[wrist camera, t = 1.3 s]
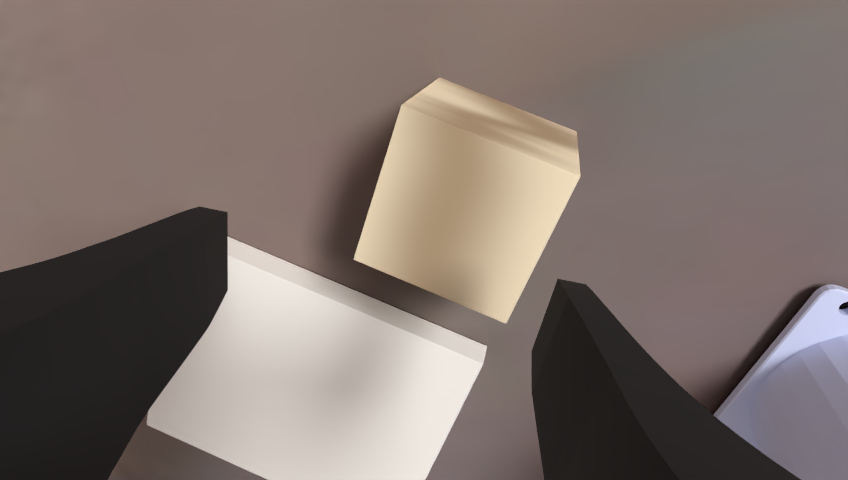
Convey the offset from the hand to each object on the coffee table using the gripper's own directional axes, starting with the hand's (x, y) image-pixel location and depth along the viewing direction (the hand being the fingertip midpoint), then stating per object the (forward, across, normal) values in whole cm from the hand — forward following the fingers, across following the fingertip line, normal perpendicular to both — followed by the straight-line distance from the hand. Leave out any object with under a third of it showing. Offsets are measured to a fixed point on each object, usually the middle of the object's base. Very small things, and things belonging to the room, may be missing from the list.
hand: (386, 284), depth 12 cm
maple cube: (+9, -2, 0) cm, 9 cm away
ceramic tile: (+9, +4, +13) cm, 16 cm away
